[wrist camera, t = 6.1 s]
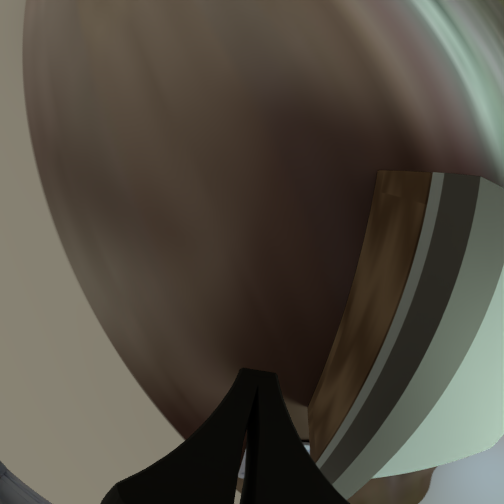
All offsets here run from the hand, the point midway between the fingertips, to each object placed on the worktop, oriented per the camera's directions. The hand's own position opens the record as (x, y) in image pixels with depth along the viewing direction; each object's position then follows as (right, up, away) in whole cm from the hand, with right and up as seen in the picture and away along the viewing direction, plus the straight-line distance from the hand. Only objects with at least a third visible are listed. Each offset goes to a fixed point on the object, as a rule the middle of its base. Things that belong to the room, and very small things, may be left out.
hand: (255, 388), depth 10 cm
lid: (+14, -2, 0) cm, 14 cm away
